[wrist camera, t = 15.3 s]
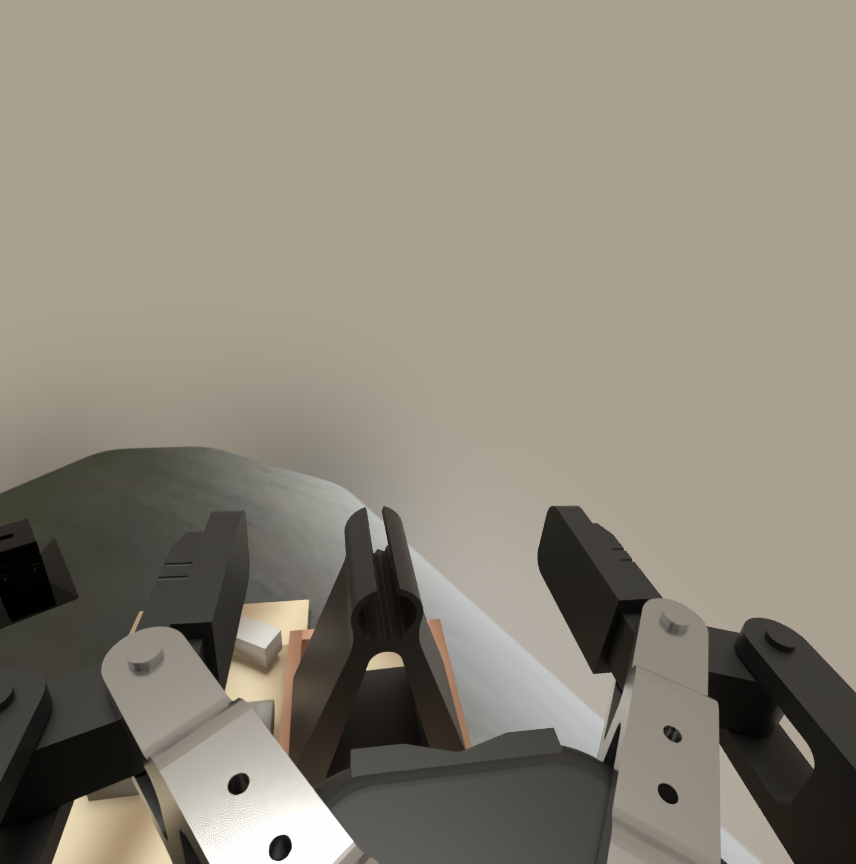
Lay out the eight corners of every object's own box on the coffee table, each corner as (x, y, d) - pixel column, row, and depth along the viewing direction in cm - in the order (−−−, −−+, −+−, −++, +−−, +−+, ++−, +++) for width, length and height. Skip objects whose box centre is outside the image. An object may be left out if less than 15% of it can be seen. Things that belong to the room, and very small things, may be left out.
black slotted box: (-41, 561, 41) (-60, 513, 39) (67, 528, 45) (54, 484, 43) (-29, 661, 32) (-53, 607, 30) (100, 609, 37) (87, 559, 35)
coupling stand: (-1, 942, 20) (-29, 896, 19) (142, 622, 35) (133, 582, 34) (491, 858, 24) (500, 814, 22) (430, 601, 39) (433, 564, 38)
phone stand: (443, 666, 31) (461, 502, 26) (467, 763, 26) (496, 581, 21) (293, 682, 29) (282, 510, 24) (286, 791, 24) (269, 599, 19)
